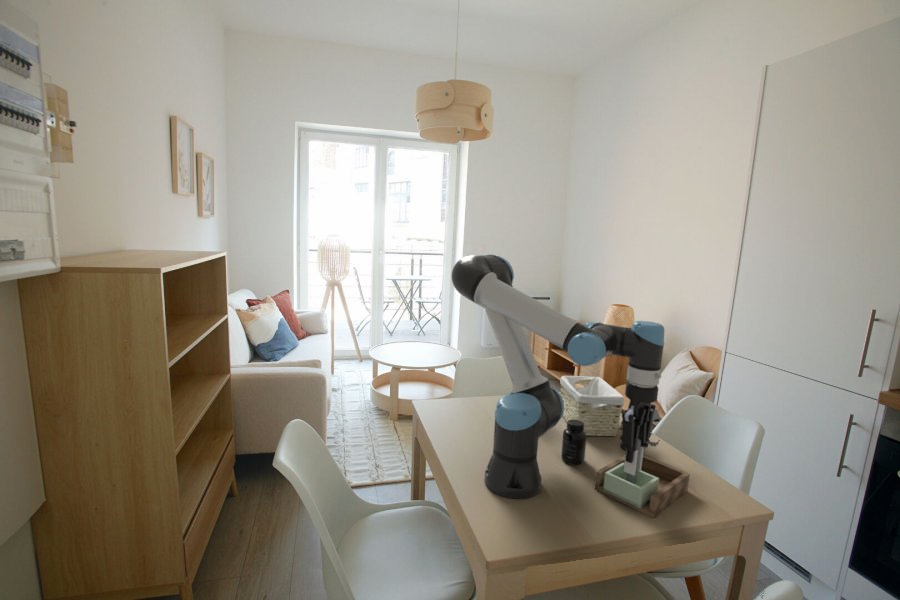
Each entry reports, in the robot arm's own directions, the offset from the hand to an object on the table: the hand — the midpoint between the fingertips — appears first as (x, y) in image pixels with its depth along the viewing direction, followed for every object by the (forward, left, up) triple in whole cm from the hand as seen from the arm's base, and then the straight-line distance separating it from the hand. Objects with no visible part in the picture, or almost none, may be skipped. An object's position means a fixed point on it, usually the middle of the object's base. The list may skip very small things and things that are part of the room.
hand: (632, 471), depth 119 cm
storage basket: (+34, +34, -8) cm, 49 cm away
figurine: (+26, +11, -8) cm, 30 cm away
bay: (+6, 0, -8) cm, 10 cm away
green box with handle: (0, 0, -6) cm, 6 cm away
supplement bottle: (+5, +21, -8) cm, 23 cm away
